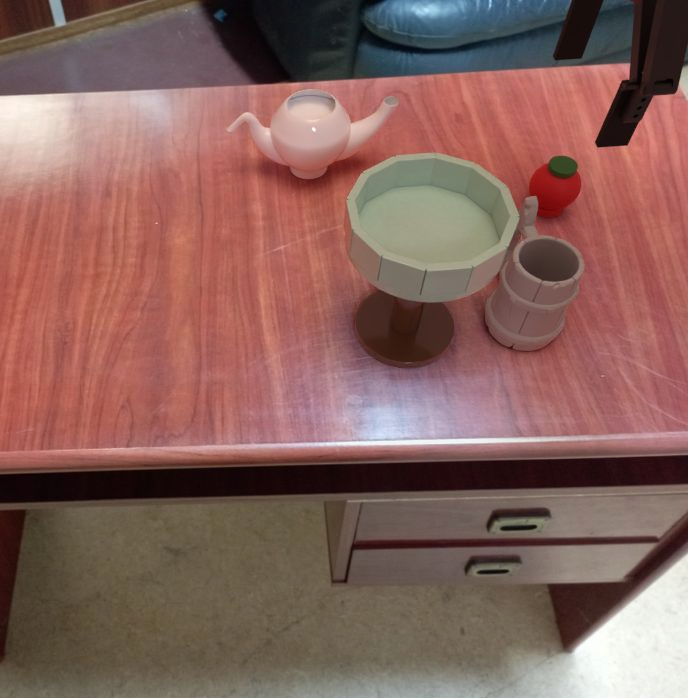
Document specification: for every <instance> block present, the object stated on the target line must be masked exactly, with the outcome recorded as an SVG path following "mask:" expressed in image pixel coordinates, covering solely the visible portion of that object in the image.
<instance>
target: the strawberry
mask: <svg viewBox="0 0 688 698" xmlns="http://www.w3.org/2000/svg"><path fill="white" fill-rule="evenodd" d="M578 169H579V164H578V162H577V161H576V159H574V158H572V157H571V156H567V155H555V156H553V157H551V158H550V159H549V161H548V162H547V163H545V164H542V165H541V166H539V167H538V168H537V169H536V170H535V171H534V172H533V174H532V175H531V177H530V180H529V183H528V192H529V193H528V194H529V197H531V196H536V197H537V199H538V211H537V215H538V216H539V217H543V218H555V217H558V216H559V215H561V213H562V212H563V210H564V209H565V208H567V207H569V206H571V204H572V203H574V202H575V201H576V199H577V198H578V197H579V195H580V192H581V190H582V177H581V174H580V173H579V171H578Z"/></svg>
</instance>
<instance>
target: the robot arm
mask: <svg viewBox="0 0 688 698" xmlns="http://www.w3.org/2000/svg"><path fill="white" fill-rule="evenodd" d="M629 1H630V2H632V3H633V4H634V7H633V18H632V19H633V20H632V34H631V35H632V36H631V45H630V46H631V47H630V48H631V49H630V61H629V75H628V79H622V80H621V81H620V83H619V86H618V88H617V91H616V92H615V95H614V97H613V100H612V102H611V105H610V106H609V109H608V110H607V113H606V116H605V118H604V120H603V122H602V125H601V127H600V130H599V132H598V134H597V136H596V139H595V140H594V144H595V146H596V148H612V147H614V148H615V147H626V146H627V147H628V145H629V144H630V142H631V139H632V138H633V136H634V133H635V131H636V129H637V127H638V126H639V123H640V122H641V121H642V120H643V119H644V116H645V114H646V112H647V110H648V108H649V106H650V104H651V102H652V100H653V98H654V97H657V96H658V97H659V96H669V95H675V94H676V93H677V92H678V90H679V86H680V81H681V76H682V72H683V67H684V62H685V58H686V53H687V49H688V0H629ZM603 4H604V0H571V2H570V5H569V7H568V9H567V12H566V13H567V14H566V16H565V19H564V22H563V25H562V28H561V31H560V34H559V36H558V40H557V42H556V45H555V48H554V51H553V54H552V58H553V60H554V61H566V60H568V61H569V60H582V59H583V56H584V53H585V51H586V49H587V46H588V43H589V40H590V38H591V35H592V34H593V29H594V27H595V25H596V22H597V20H598V16H599V14H600V11H601V8H602V6H603Z"/></svg>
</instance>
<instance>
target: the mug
mask: <svg viewBox="0 0 688 698" xmlns="http://www.w3.org/2000/svg"><path fill="white" fill-rule="evenodd" d="M517 211H518V213H519V216H520V217H519V218H520V219H519V222H518V224H517V227H516V230H515V232H514V235H513V238H512V240H511V243H510V246H509V248H508V251H507V253H506V256H505V258H504V261H503V264H502V266H501V268H500V271H499V272H498V273H499V282H498V284H497V287H496V289H494V290H493V291H492V293H491V294H490V295H489V297H488V298H487V299H486V302H485V306H484V315H485V316H484V320H485V326H487V328H488V333H489V334H490V335H491V336H492V337H493V338H494V339H495V340H496V341H497V342H498V343H499V344H501V345H503V346H505V347H507V348H510V347H512V350H516V351H521V352H528V351H529V352H531V351H532V352H533V351H537V350H540V349H543V348H545V347H546V346H548V345H549V344H550V343H551V342H552V341H554V340H555V339H556V338H557V337H558V336H559V335H560V334H561V332H562V330H563V329H564V328H565V325H566V322H565V321H566V311H567V309H568V308H569V307H570V306H571V305H572V304H573V302H574V301H575V299H576V298H577V297H578V295H579V290H580V285H579V283H580V280H581V279H582V277H583V274H584V272H585V266H586V265H585V261H584V258H583V255H582V253H581V251H579V249H578V248H577V247H576V246H574V245H573V244H572V243H570V242H569V241H567V240H565V239H562V238H560V237H555V236H553V235H546V234H541V235H540V234H539V231H538V229H537V228H536V220H537V215H538V214H537V211H538V199H537V197H536V196H527V197H525V198H524V200H523V203H522V205H521V207H520V209H518V210H517ZM521 237H522V238H523V240H521V241H520V239H521Z"/></svg>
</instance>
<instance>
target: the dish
mask: <svg viewBox="0 0 688 698" xmlns="http://www.w3.org/2000/svg"><path fill="white" fill-rule="evenodd" d="M518 211H519V210H518V209H517V205H516V203H515V201H514V199H513V196H512V194H511V191H510V189H509V187H508V185H507V184H505V183H504V182H503V181H502V180H500V179H499V178H497V177H496V176H495V175H493V174H492V173H491V172H489V171H488V170H487V169H485V167H483V166H482V165H480V164H479V163H476V162H475V161H471V160H468V159H464V158H459V157H456V156H452V155H449V154H445V153H440V152H435V151H433V152H420V153H418V152H417V153H408V154H407V153H406V154H396V155H395V156H394V155H393V156H390V157H388V158H386V159H385V160H383V161H381V162H379V163H377V164H374V165H373V166H371V167H369V168H367V169H365V170H363V171H362V172H361V173H360V174H359V176H358V177H357V179H356V181H355V182H354V184H353V186H352V188H351V190H350V191H349V193H348V195H347V196H346V199H345V206H344V215H343V217H344V218H343V225H342V227H343V231H344V248H345V251H346V255H347V257H348V260H349V261H350V263H351V265H352V266H353V268H354V269H355V271H356V272H357V273H358V274H359V275H360V276H361V277H362V278H363V279H364V280H365V281H366V282H368V284H371V285H372V286H373V287H375V288H377V290H375V291H374V292H372V293H371V294H369V295H368V296H366V297H365V299H364V300H363V301H362V302H361V303H360V304H359V306H358V308H357V310H356V313H355V319H354V332H355V336H356V339H357V341H358V343H359V344H360V346H361V347H362V348H363V350H364V351H365V352H366V353H367V354H368V355H369V356H371V357H372V358H373V359H375V360H376V361H378V362H380V363H382V364H384V365H387V366H391V367H395V368H400V369H401V368H402V369H414V368H422V367H425V366H428V365H430V364H432V363H435V362H436V361H438V360H440V358H442V356H444V355H445V354H446V352H447V351H448V350H449V348H450V346H451V344H452V342H453V341H452V340H453V337H454V333H455V323H454V319H453V316H452V314H451V312H450V310H449V308H448V307H447V306H446V305H445V302H453V301H456V300H460V299H464V298H466V297H469V296H472V295H473V294H475V293H477V292H479V291H481V290H483V288H485V287H487V286H488V285H489V284H490V283H491V282H492V281H493V280H494V279H495V278H496V276H497V275H498V273H500V272H499V271H500V268H501V266H502V264H503V261H504V258H505V256H506V253H507V251H508V248H509V246H510V243H511V240H512V238H513V235H514V232H515V230H516V227H517V224H518V222H519V219H520V218H519V217H520V216H519V213H518Z"/></svg>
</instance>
